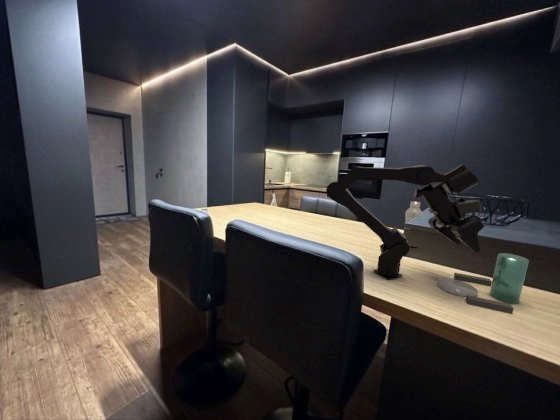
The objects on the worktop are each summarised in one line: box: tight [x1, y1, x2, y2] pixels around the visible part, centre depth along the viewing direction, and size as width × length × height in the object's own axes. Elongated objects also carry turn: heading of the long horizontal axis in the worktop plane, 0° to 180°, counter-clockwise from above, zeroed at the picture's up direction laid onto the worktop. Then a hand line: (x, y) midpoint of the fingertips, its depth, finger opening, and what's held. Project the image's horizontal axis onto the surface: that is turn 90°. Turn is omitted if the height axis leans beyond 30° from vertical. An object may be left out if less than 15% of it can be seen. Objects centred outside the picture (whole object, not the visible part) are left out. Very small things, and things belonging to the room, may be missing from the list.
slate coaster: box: [435, 277, 479, 298], centre depth 71 cm, size 10×10×1 cm
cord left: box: [453, 272, 492, 287], centre depth 75 cm, size 9×2×2 cm, turn 64°
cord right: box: [465, 295, 514, 314], centre depth 62 cm, size 9×2×2 cm, turn 64°
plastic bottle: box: [404, 200, 423, 223], centre depth 105 cm, size 6×7×20 cm
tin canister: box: [489, 252, 530, 305], centre depth 65 cm, size 6×6×12 cm
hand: (467, 247), depth 70 cm, fingers open, 9 cm apart
